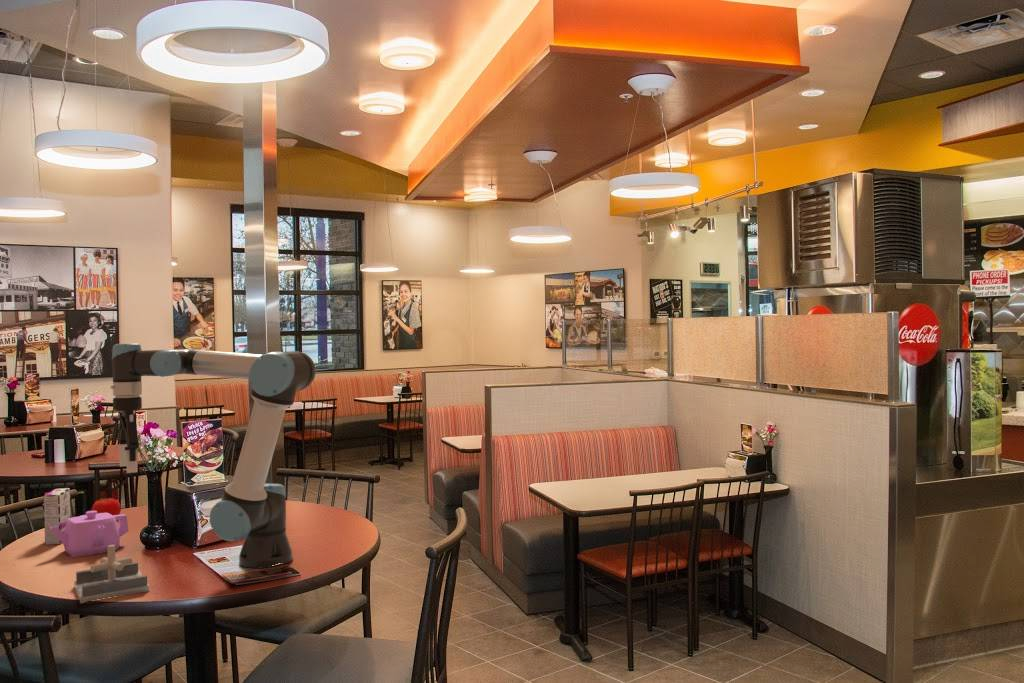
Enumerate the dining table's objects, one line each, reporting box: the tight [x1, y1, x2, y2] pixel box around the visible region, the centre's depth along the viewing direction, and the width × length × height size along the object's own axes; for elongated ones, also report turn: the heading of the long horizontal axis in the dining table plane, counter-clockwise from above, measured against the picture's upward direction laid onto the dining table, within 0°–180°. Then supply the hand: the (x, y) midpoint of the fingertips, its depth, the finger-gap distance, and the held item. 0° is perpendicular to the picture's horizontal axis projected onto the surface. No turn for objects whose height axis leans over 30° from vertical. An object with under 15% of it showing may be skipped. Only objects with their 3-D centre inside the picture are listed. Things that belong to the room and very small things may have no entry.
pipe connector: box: [89, 545, 133, 581], centre depth 206 cm, size 10×10×10 cm
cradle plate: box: [73, 561, 150, 604], centre depth 206 cm, size 16×16×4 cm
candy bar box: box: [43, 487, 72, 546], centre depth 256 cm, size 11×5×16 cm, turn 14°
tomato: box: [90, 496, 122, 515], centre depth 283 cm, size 9×10×8 cm
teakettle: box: [50, 510, 129, 558], centre depth 244 cm, size 17×17×12 cm
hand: (128, 469), depth 225 cm, fingers open, 13 cm apart
